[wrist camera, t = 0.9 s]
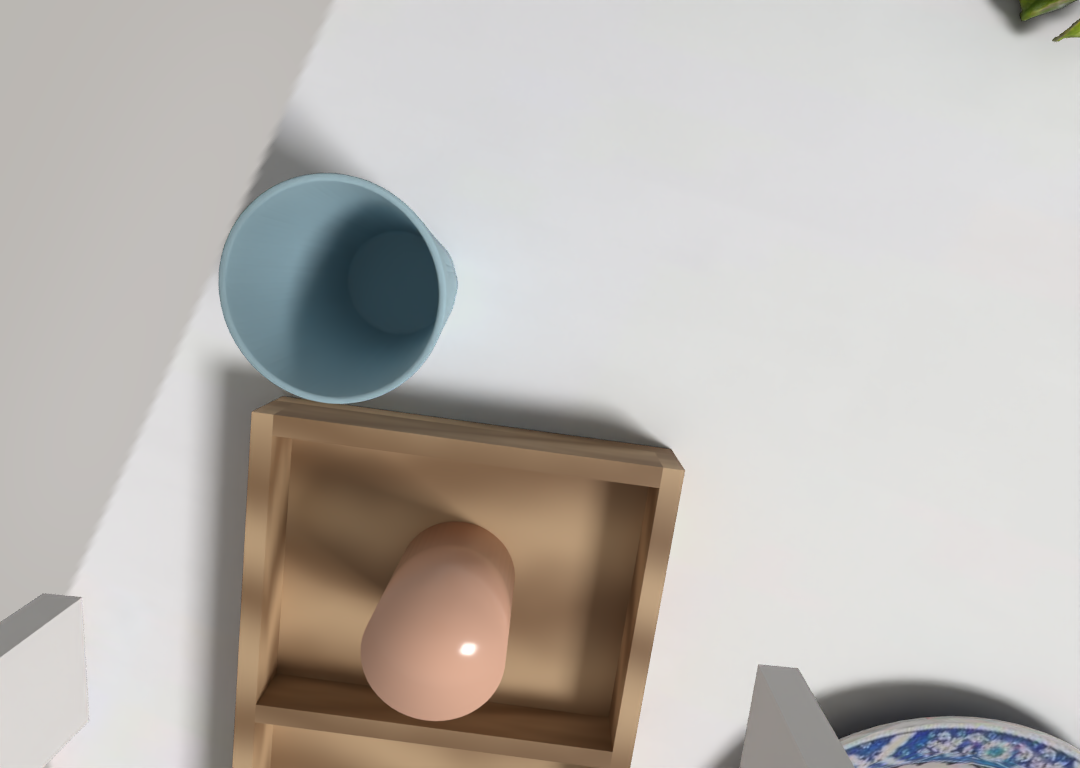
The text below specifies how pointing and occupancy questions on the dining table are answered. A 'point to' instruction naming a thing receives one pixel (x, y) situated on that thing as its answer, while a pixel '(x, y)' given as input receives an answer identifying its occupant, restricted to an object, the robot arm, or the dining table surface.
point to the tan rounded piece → (442, 624)
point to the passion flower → (1037, 3)
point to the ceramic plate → (957, 745)
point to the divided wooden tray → (376, 549)
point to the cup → (334, 288)
